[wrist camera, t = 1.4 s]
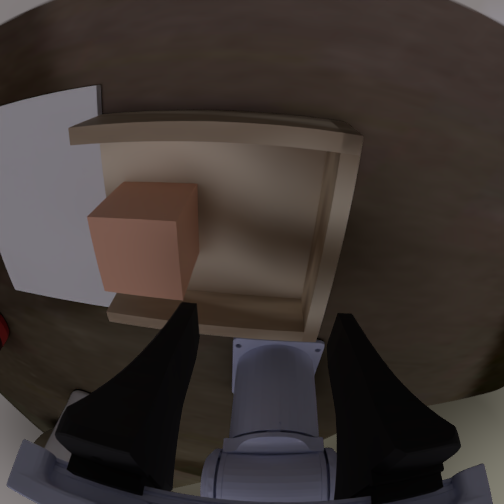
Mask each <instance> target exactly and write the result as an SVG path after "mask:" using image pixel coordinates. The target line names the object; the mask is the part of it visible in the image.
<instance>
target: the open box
mask: <svg viewBox="0 0 504 504" xmlns="http://www.w3.org/2000/svg"><path fill="white" fill-rule="evenodd" d="M68 130H69V140H70V145H81V144H96V143H100V151H101V161H102V170H103V178H104V185H105V193H106V198H107V197H108V196H109V195H110V194H111V193H112V192H113V191H114V190H115V189H116V188H117V187H118V186H119V185H120V184H121V183H123V182H168V183H195V184H197V185H198V228H199V255H198V257H197V260H196V263H195V266H194V269H193V272H192V275H191V278H190V281H189V284H188V287H187V290H186V293H185V296H184V299H183V301H182V300H172V299H164V298H155V297H146V296H138V295H130V294H123V293H116V295H115V297H114V299H113V300H112V302H111V304H110V306H109V308H108V310H107V315H108V318H109V321H111V322H117V323H123V324H129V325H136V326H142V327H149V328H156V329H162V328H163V327H164V325H165V324H166V323H167V321H168V320H169V319H170V317H171V316H172V315H173V313H174V312H175V310H176V309H177V307H178V306H179V304H180V303H182V302H189V303H197V311H198V324H199V334H206V335H215V336H226V337H237V338H249V339H263V340H279V341H298V342H316V340H317V337H318V333H319V330H320V327H321V323H322V320H323V316H324V313H325V309H326V306H327V302H328V298H329V295H330V291H331V287H332V284H333V280H334V276H335V272H336V268H337V264H338V260H339V256H340V252H341V248H342V243H343V239H344V235H345V230H346V226H347V221H348V217H349V212H350V207H351V203H352V198H353V193H354V188H355V183H356V177H357V172H358V167H359V161H360V155H361V150H362V144H363V137H364V136H363V135H362V134H360V133H359V132H358V131H357V130H355V129H354V128H353V127H351V126H350V125H349V124H347V123H346V122H343V121H337V120H330V119H323V118H315V117H306V116H297V115H288V114H277V113H264V112H248V111H227V110H158V111H137V112H122V113H110V114H101V115H99V116H96V117H94V118H91V119H89V120H86V121H84V122H81V123H79V124H76V125H74V126H72V127H69V128H68Z"/></svg>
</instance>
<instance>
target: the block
mask: <svg viewBox="0 0 504 504" xmlns="http://www.w3.org/2000/svg"><path fill="white" fill-rule="evenodd" d="M87 220H88V225H89V230H90V234H91V239H92V243H93V247H94V252H95V256H96V260H97V264H98V268H99V272H100V275H101V279H102V283H103V286H104V290H105V291H108V292H115V293H123V294H130V295H138V296H146V297H155V298H164V299H172V300H182V301H183V299H184V296H185V293H186V290H187V287H188V284H189V281H190V278H191V275H192V272H193V269H194V266H195V263H196V260H197V257H198V255H199V228H198V185H197V184H195V183H168V182H123V183H121V184H120V185H119V186H118V187H117V188H116V189H115V190H114V191H113V192H112V193H111V194H110V195H109V196H108V197H107V198H106V199H104V200H103V201H102V202H101V203H100V204H99V205H98V206H97V207H96V208H95V209H94V210H93V211H92V212H91V213H90V214H89V215H88V216H87Z"/></svg>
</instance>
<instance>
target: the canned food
mask: <svg viewBox="0 0 504 504" xmlns="http://www.w3.org/2000/svg"><path fill="white" fill-rule="evenodd" d="M8 335H9V328H8V326H7V323H6V321H5V320H4V318H3V316H2V315H1V314H0V350H1V348H2V347H3V345H4V344H5V342H6V341H7V339H8Z"/></svg>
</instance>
